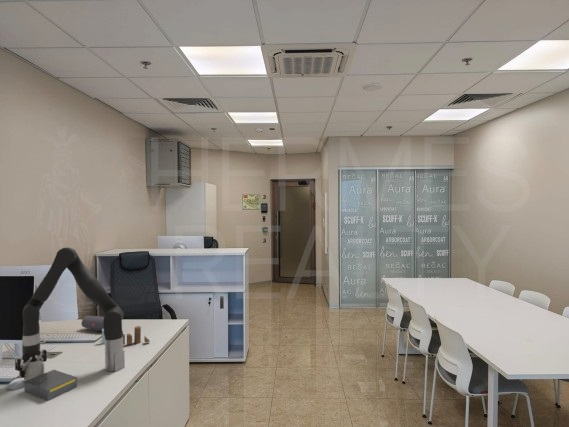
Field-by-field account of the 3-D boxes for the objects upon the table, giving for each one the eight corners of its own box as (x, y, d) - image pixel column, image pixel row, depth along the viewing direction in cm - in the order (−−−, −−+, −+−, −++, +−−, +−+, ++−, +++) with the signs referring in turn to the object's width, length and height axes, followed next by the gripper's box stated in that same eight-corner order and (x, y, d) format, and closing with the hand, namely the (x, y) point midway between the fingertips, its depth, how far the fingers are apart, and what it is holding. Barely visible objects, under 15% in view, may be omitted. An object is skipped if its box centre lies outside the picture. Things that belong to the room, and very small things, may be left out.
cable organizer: (24, 378, 185) (24, 358, 185) (47, 377, 186) (46, 357, 186) (17, 384, 179) (17, 363, 179) (40, 383, 180) (40, 362, 180)
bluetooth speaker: (80, 330, 258) (80, 317, 258) (91, 326, 267) (90, 313, 267) (105, 333, 252) (105, 319, 252) (115, 329, 261) (115, 316, 261)
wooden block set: (119, 349, 224) (119, 333, 223) (118, 343, 231) (119, 328, 231) (149, 344, 232) (150, 329, 232) (148, 339, 240) (148, 324, 239)
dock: (77, 387, 176) (77, 377, 176) (47, 400, 164) (47, 390, 163) (53, 379, 185) (53, 369, 184) (24, 391, 172) (24, 381, 172)
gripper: (20, 348, 174) (20, 381, 174) (50, 339, 187) (50, 370, 187) (11, 346, 177) (11, 378, 178) (41, 337, 190) (41, 367, 190)
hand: (31, 374), depth 182 cm, fingers closed on cable organizer, 7 cm apart
